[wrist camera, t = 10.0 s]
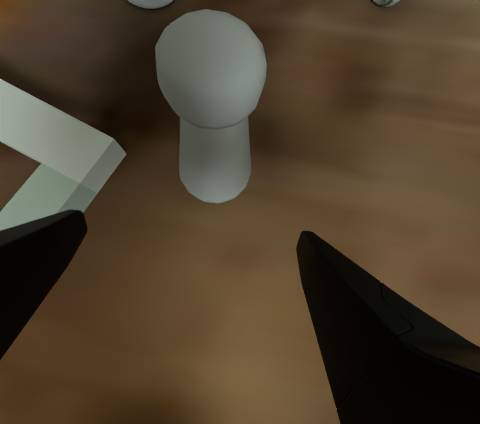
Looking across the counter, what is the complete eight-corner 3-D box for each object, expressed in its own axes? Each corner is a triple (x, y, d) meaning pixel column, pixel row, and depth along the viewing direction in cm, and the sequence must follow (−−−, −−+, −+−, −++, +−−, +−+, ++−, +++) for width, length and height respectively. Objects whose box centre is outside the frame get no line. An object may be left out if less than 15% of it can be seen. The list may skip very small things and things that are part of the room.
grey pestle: (171, 168, 20) (92, 9, 8) (224, 139, 21) (233, -40, 9) (205, 222, 19) (180, 143, 7) (259, 189, 20) (323, 69, 8)
